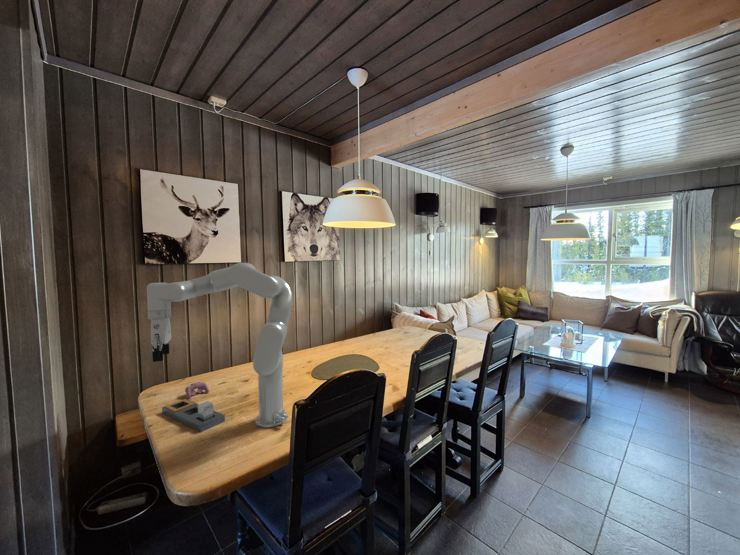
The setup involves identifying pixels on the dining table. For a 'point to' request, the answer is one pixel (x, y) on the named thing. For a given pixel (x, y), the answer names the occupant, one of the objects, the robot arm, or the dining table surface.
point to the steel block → (205, 411)
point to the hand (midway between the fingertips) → (161, 357)
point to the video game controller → (199, 385)
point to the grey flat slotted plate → (186, 408)
